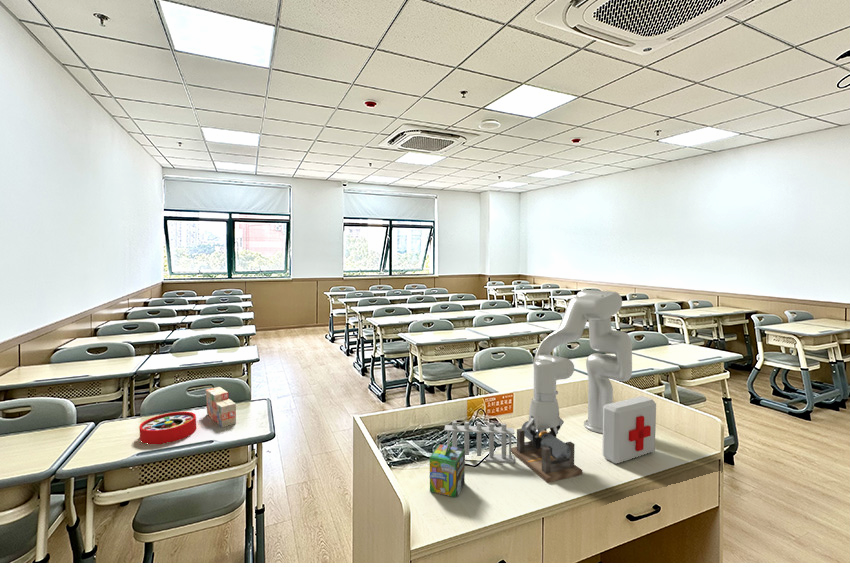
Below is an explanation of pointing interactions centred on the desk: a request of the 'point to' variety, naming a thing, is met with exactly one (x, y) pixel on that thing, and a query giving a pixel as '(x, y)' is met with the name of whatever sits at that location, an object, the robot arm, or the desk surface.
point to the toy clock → (168, 427)
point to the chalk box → (447, 470)
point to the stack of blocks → (220, 407)
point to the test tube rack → (490, 430)
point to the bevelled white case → (629, 429)
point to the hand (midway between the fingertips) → (544, 445)
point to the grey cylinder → (551, 444)
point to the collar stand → (544, 460)
